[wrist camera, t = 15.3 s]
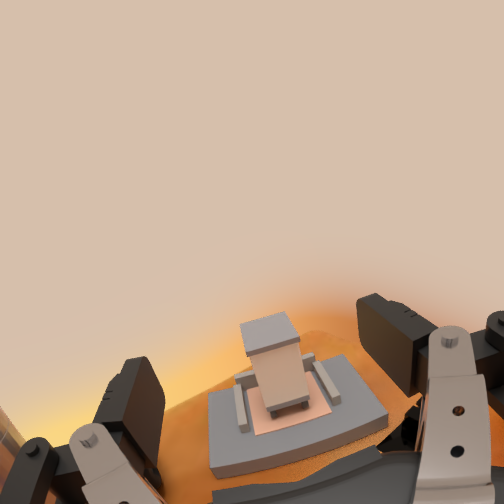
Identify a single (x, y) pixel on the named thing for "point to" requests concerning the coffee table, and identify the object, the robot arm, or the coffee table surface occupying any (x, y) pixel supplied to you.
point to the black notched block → (403, 432)
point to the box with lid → (276, 361)
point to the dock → (290, 419)
